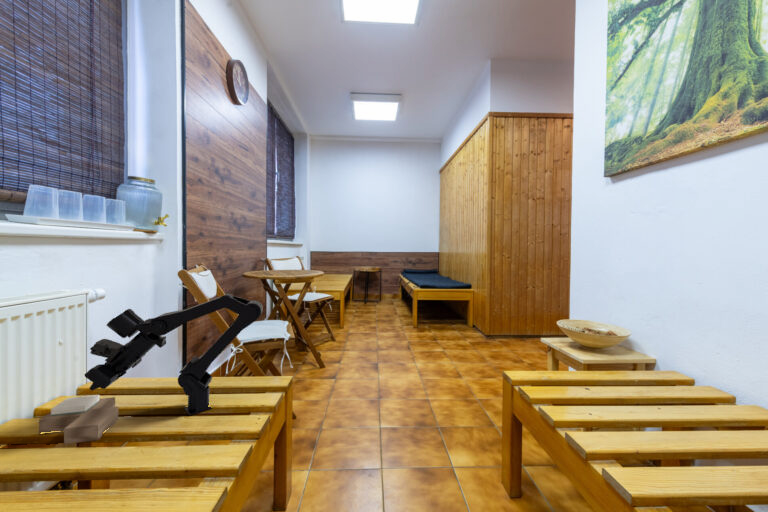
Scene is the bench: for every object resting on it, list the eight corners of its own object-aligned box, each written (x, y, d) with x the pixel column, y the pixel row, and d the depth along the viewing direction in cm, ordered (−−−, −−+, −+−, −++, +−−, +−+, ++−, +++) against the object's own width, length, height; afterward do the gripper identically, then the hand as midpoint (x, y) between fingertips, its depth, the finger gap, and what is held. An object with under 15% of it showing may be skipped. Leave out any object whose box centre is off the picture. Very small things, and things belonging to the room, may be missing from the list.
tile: (99, 394, 91) (67, 397, 88) (85, 405, 84) (51, 408, 82) (99, 401, 91) (67, 404, 88) (85, 412, 84) (51, 415, 82)
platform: (130, 408, 94) (130, 395, 94) (98, 439, 79) (98, 424, 79) (66, 415, 90) (66, 401, 90) (17, 450, 74) (17, 434, 74)
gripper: (130, 322, 98) (87, 360, 95) (93, 339, 80) (40, 385, 77) (158, 345, 100) (118, 382, 97) (129, 366, 82) (78, 412, 79)
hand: (91, 389), depth 87 cm, fingers closed
